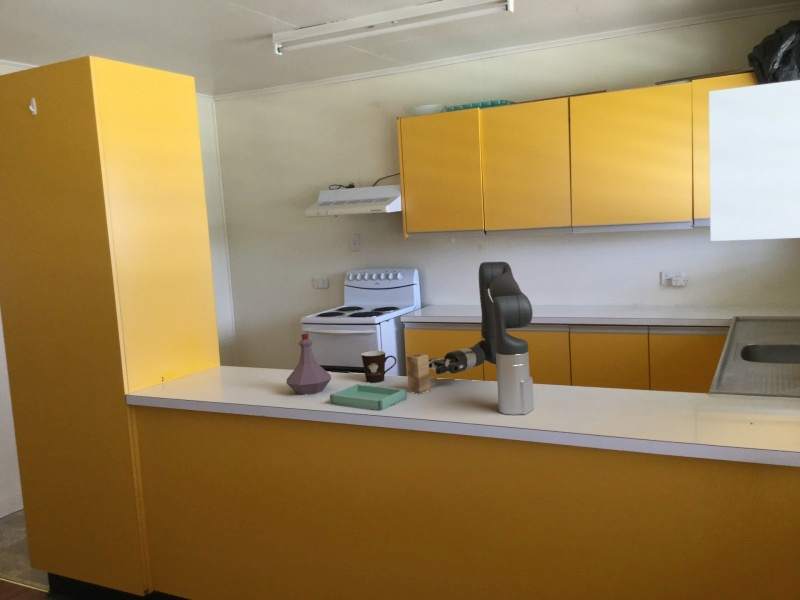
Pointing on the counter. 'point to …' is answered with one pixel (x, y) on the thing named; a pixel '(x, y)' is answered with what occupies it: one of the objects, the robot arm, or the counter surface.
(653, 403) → the counter surface
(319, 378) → the flask
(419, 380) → the tan wooden tall block
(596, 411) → the counter surface
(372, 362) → the coffee mug
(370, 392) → the green tray
